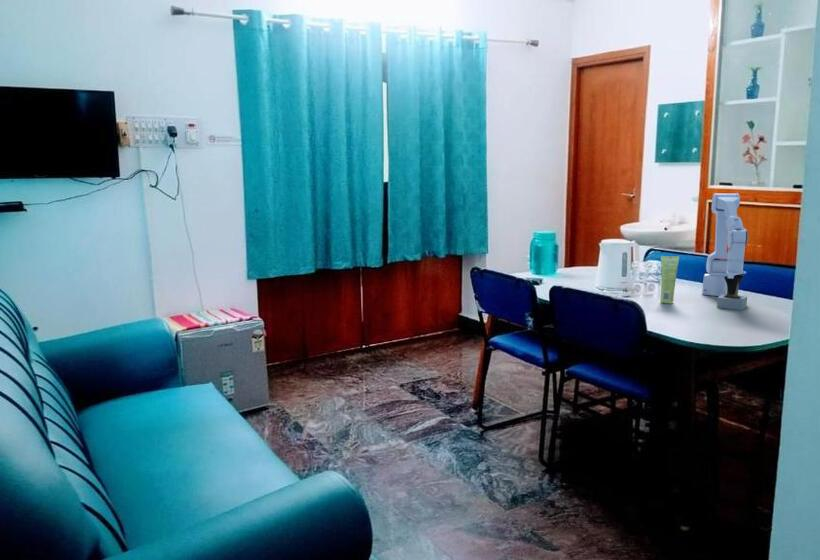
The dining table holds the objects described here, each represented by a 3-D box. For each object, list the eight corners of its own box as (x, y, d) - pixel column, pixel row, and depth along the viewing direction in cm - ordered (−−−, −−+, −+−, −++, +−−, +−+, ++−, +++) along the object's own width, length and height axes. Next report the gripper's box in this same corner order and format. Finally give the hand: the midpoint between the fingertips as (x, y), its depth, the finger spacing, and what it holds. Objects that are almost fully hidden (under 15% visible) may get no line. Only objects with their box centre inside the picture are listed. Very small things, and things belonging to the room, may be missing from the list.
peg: (724, 301, 254) (726, 281, 252) (727, 299, 257) (729, 280, 255) (735, 302, 251) (737, 282, 250) (738, 300, 254) (740, 281, 252)
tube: (664, 300, 266) (667, 254, 263) (676, 302, 263) (679, 256, 259) (657, 302, 263) (660, 256, 259) (669, 304, 259) (672, 257, 255)
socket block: (716, 307, 253) (717, 297, 253) (722, 303, 260) (722, 293, 260) (741, 310, 248) (742, 300, 247) (746, 306, 255) (747, 296, 254)
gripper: (743, 263, 243) (740, 297, 245) (750, 258, 254) (747, 291, 256) (723, 261, 247) (720, 295, 249) (731, 257, 258) (728, 289, 261)
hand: (732, 293), depth 253 cm, fingers closed on peg, 4 cm apart
